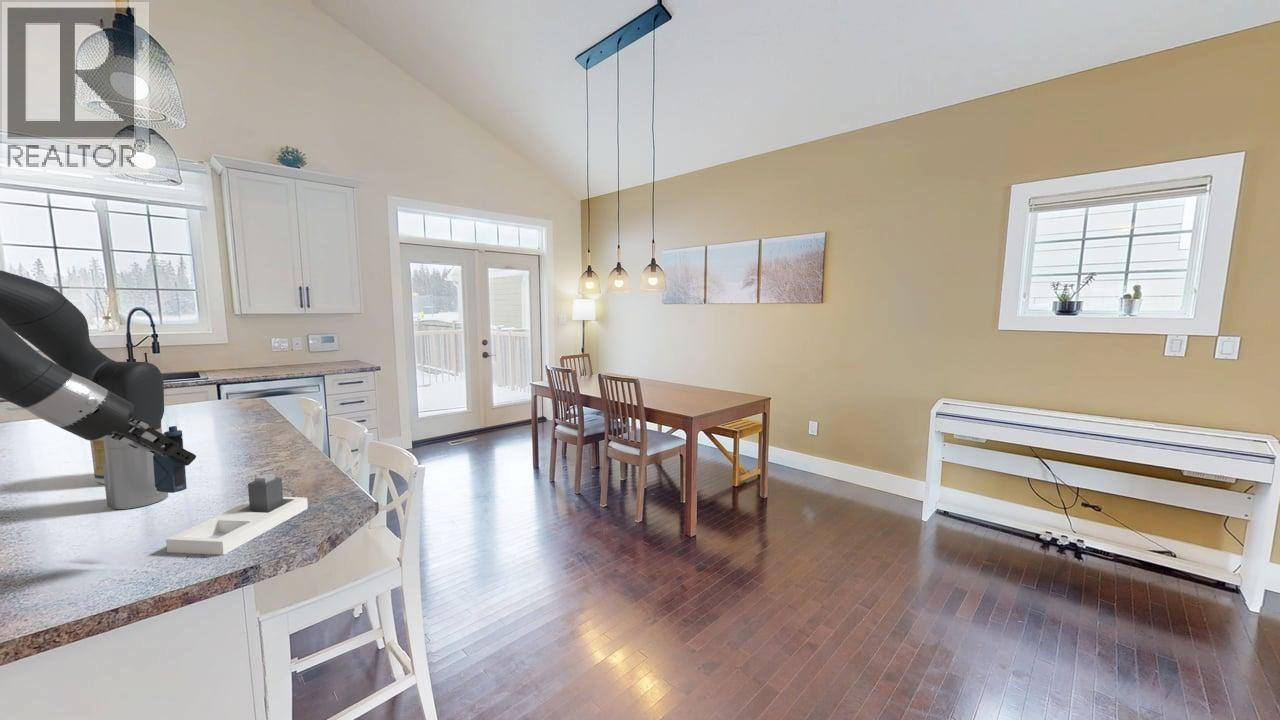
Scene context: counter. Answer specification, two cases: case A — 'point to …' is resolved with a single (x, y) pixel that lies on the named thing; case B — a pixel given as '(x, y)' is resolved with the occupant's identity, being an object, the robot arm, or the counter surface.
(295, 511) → the dock
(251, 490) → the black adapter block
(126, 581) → the counter surface
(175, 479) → the vaping device
